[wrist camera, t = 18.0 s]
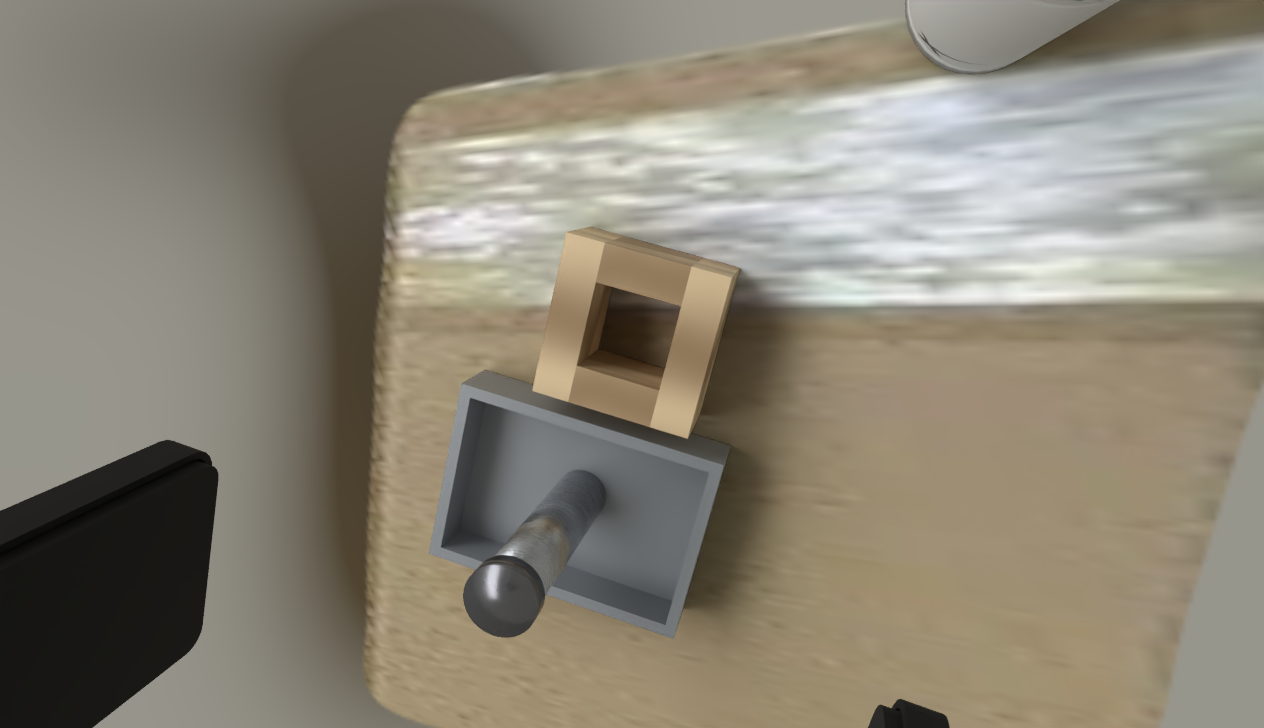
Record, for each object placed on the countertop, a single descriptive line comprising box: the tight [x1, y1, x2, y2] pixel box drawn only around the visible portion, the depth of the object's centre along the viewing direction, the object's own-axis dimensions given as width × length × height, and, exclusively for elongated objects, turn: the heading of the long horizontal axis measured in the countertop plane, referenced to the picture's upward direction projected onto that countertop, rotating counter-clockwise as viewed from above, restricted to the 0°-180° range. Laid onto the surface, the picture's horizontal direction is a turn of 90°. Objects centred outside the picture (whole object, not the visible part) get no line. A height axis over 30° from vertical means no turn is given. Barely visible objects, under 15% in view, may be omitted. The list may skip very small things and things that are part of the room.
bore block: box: [532, 227, 740, 439], centre depth 41 cm, size 8×8×4 cm
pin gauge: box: [463, 470, 606, 637], centre depth 40 cm, size 3×3×12 cm
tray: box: [429, 370, 731, 639], centre depth 45 cm, size 10×14×3 cm
